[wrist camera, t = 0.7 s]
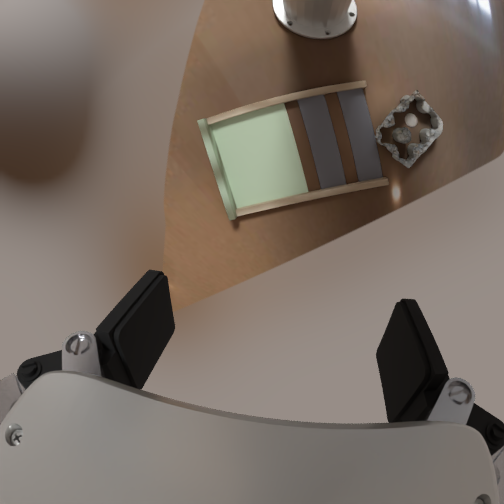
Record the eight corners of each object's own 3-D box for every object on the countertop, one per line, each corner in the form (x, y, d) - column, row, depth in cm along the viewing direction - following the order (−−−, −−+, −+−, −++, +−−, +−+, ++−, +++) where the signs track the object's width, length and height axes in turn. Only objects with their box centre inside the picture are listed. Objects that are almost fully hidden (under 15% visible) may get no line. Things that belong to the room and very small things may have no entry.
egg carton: (407, 89, 31) (417, 85, 27) (438, 125, 32) (450, 125, 28) (366, 133, 35) (373, 133, 32) (399, 168, 36) (409, 172, 33)
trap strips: (297, 99, 35) (297, 99, 35) (361, 88, 32) (362, 88, 32) (321, 188, 40) (321, 189, 40) (382, 177, 38) (382, 177, 37)
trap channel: (203, 121, 38) (197, 120, 36) (363, 81, 32) (367, 78, 29) (233, 215, 44) (229, 220, 42) (386, 183, 38) (391, 186, 35)
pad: (211, 124, 39) (210, 124, 38) (284, 103, 36) (283, 102, 35) (237, 208, 44) (237, 208, 44) (308, 191, 41) (308, 191, 41)
